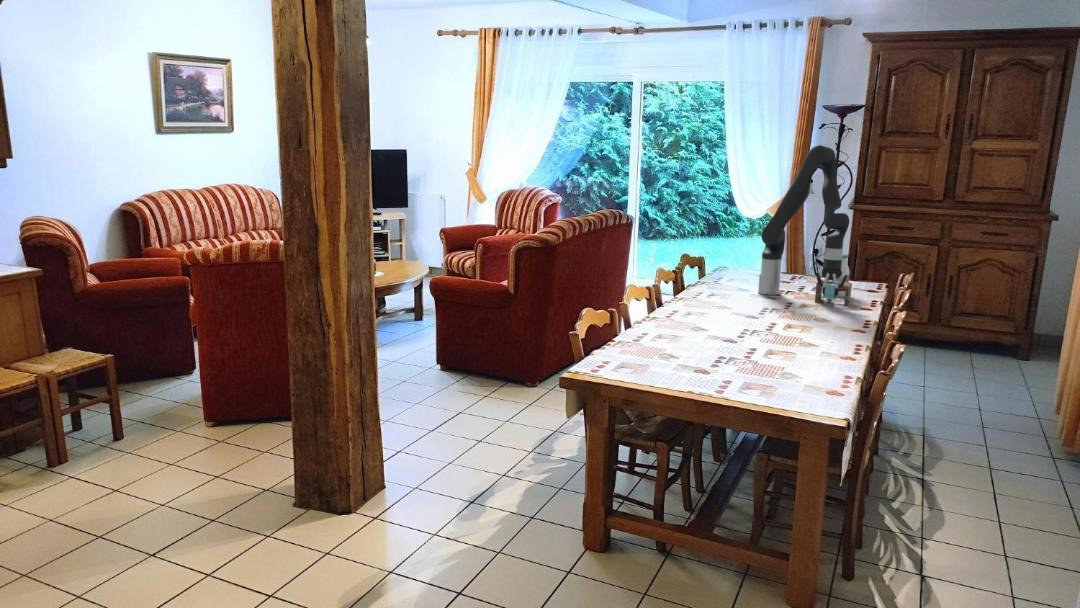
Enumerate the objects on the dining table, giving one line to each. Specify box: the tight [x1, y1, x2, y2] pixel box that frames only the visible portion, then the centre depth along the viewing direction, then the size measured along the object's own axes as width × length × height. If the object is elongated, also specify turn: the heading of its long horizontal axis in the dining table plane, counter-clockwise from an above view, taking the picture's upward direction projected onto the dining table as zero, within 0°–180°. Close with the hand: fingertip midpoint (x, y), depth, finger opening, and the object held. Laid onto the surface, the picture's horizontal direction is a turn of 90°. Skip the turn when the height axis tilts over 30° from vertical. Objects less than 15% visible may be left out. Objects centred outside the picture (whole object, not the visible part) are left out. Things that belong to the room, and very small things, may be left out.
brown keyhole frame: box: [814, 279, 853, 307], centre depth 354 cm, size 14×9×9 cm, turn 60°
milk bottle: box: [838, 253, 850, 298], centre depth 368 cm, size 8×8×20 cm
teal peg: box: [821, 284, 840, 308], centre depth 346 cm, size 7×7×10 cm
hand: (829, 295), depth 346 cm, fingers closed on teal peg, 4 cm apart
